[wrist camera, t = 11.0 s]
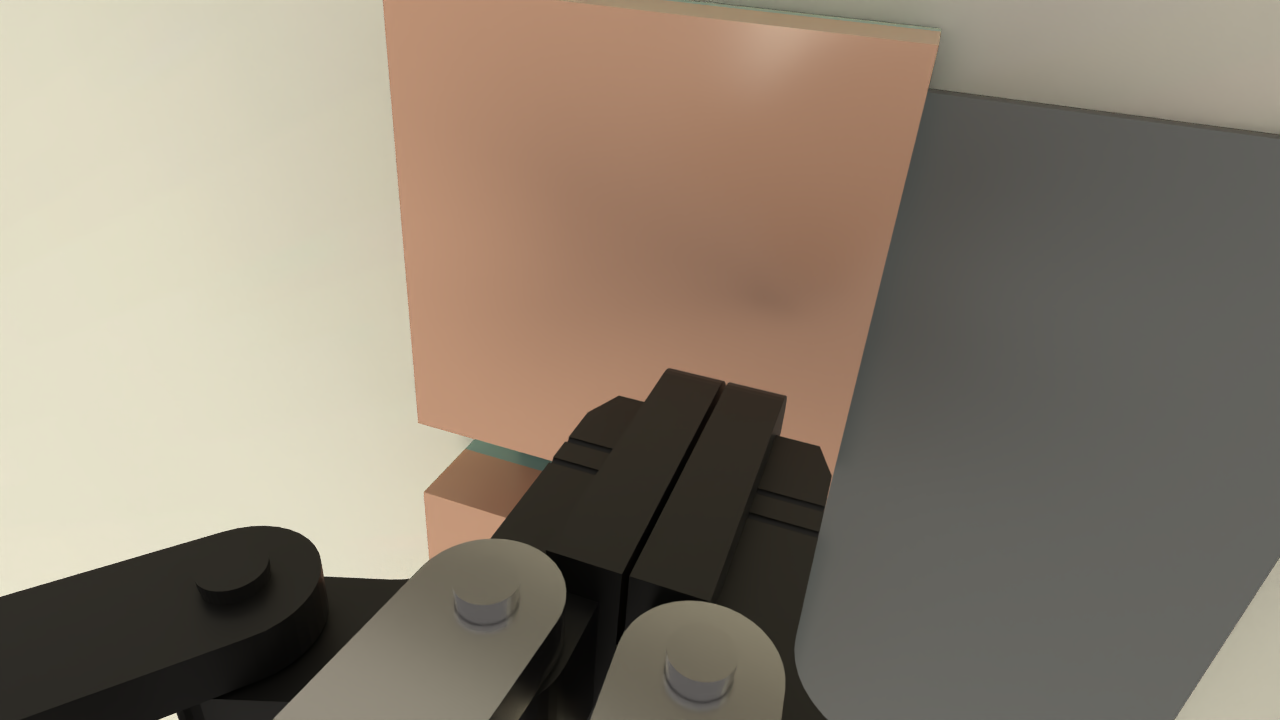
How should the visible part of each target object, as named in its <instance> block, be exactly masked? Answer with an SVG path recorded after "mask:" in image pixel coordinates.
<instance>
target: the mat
mask: <svg viewBox="0 0 1280 720" xmlns="http://www.w3.org/2000/svg"><path fill="white" fill-rule="evenodd" d="M1279 558H1280V135H1277V134H1269V133H1262V132H1254V131H1247V130H1239V129H1232V128H1224V127H1216V126H1209V125H1201V124H1194V123H1186V122H1178V121H1171V120H1163V119H1156V118H1148V117H1140V116H1133V115H1125V114H1118V113H1110V112H1102V111H1095V110H1087V109H1080V108H1072V107H1064V106H1057V105H1049V104H1042V103H1034V102H1026V101H1019V100H1011V99H1004V98H996V97H989V96H981V95H973V94H966V93H958V92H951V91H943V90H935V89H928V91H927V95H926V100H925V104H924V108H923V112H922V116H921V120H920V124H919V128H918V132H917V136H916V140H915V144H914V148H913V152H912V156H911V160H910V165H909V169H908V173H907V177H906V181H905V185H904V189H903V193H902V197H901V201H900V205H899V209H898V213H897V217H896V221H895V225H894V230H893V234H892V238H891V242H890V246H889V250H888V254H887V258H886V262H885V266H884V270H883V274H882V278H881V282H880V286H879V290H878V295H877V299H876V303H875V307H874V311H873V315H872V319H871V323H870V327H869V331H868V335H867V339H866V343H865V347H864V351H863V355H862V360H861V364H860V368H859V372H858V376H857V380H856V384H855V388H854V392H853V396H852V400H851V404H850V408H849V412H848V416H847V420H846V425H845V429H844V433H843V437H842V441H841V445H840V449H839V453H838V457H837V461H836V465H835V469H834V473H833V477H832V481H831V485H830V490H829V494H828V498H827V502H826V506H825V510H824V514H823V518H822V523H821V527H820V532H819V536H818V541H817V545H816V550H815V554H814V559H813V563H812V567H811V572H810V576H809V581H808V585H807V590H806V594H805V599H804V603H803V608H802V612H801V616H800V621H799V625H798V630H797V634H796V639H795V648H794V653H795V663H796V667H797V671H798V675H799V678H800V680H801V682H802V684H803V687H804V689H805V691H806V692H807V694H808V695H809V697H810V699H811V700H812V702H813V703H814V705H815V706H816V707H817V708H818V709H819V711H820V712H821V713H822V714H823V716H825V717H826V718H827V719H828V720H1175V718H1176V716H1177V715H1178V713H1179V712H1180V710H1181V709H1182V707H1183V706H1184V704H1185V703H1186V701H1187V700H1188V698H1189V696H1190V695H1191V693H1192V692H1193V690H1194V689H1195V687H1196V686H1197V684H1198V683H1199V681H1200V679H1201V678H1202V676H1203V675H1204V673H1205V672H1206V670H1207V669H1208V667H1209V666H1210V664H1211V662H1212V661H1213V659H1214V658H1215V656H1216V655H1217V653H1218V652H1219V650H1220V649H1221V647H1222V646H1223V644H1224V642H1225V641H1226V639H1227V638H1228V636H1229V635H1230V633H1231V632H1232V630H1233V629H1234V627H1235V625H1236V624H1237V622H1238V621H1239V619H1240V618H1241V616H1242V615H1243V613H1244V612H1245V610H1246V608H1247V607H1248V605H1249V604H1250V602H1251V601H1252V599H1253V598H1254V596H1255V595H1256V593H1257V592H1258V590H1259V588H1260V587H1261V585H1262V584H1263V582H1264V581H1265V579H1266V578H1267V576H1268V575H1269V573H1270V571H1271V570H1272V568H1273V567H1274V565H1275V564H1276V562H1277V561H1278V559H1279Z"/></svg>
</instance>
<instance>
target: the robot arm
mask: <svg viewBox="0 0 1280 720" xmlns="http://www.w3.org/2000/svg"><path fill="white" fill-rule="evenodd" d="M786 402H787V396H786V395H781V394H777V393H773V392H769V391H765V390H761V389H756V388H752V387H748V386H744V385H740V384H735V383H731V382H728V384H727V385H726V383H725V381H722V380H718V379H714V378H710V377H705V376H701V375H697V374H693V373H689V372H685V371H680V370H676V369H672V368H668V369H666V370H665V372H664V373H663V375H662V376H661V378H660V379H659V381H658V382H657V384H656V385H655V387H654V388H653V390H652V391H651V393H650V394H649V396H648V397H647V399H646V400H645V402H643V401H639V400H635V399H631V398H627V397H623V396H617V397H615V398H613V399H611V400H610V401H608V402H606V403H604V404H602V405H600V406H598V407H597V408H595V409H593V410H591V411H589V412H587V414H586V415H585V416H584V418H583V419H582V420H581V421H580V423H579V424H578V425H577V427H576V428H575V429H574V431H573V432H572V433H571V434H570V436H569V439H568V442H564V444H563V445H562V446H561V447H560V449H559V450H558V451H557V453H556V454H555V455H554V456H553V460H552V463H550V462H549V463H548V464H547V466H546V467H545V468H544V469H543V471H542V472H541V473H540V475H539V476H538V477H537V479H536V480H535V481H534V482H533V484H532V485H531V486H530V488H529V489H528V490H527V491H526V493H525V494H524V495H523V497H522V498H521V499H520V501H519V502H518V503H517V504H516V506H515V507H514V508H513V510H512V511H511V512H510V514H509V515H508V516H507V517H506V519H505V520H504V521H503V523H502V524H501V525H500V526H499V528H498V529H497V530H496V532H495V533H494V534H493V536H492V537H491V538H490V539H479V540H474V541H469V542H465V543H461V544H458V545H455V546H453V547H451V548H448V549H446V550H444V551H442V552H440V553H439V554H437V555H436V556H434V557H433V558H431V559H430V560H429V561H428V562H427V563H425V564H424V565H423V566H422V567H421V568H420V569H419V570H418V571H417V572H416V573H415V574H414V575H413V576H412V577H411V578H410V579H402V580H387V579H365V578H343V577H324V575H323V569H322V564H321V559H320V555H319V552H318V551H317V549H316V547H315V545H314V544H313V543H312V542H311V541H310V540H309V539H307V538H306V537H304V536H303V535H301V534H300V533H297V532H295V531H292V530H289V529H285V528H280V527H272V526H251V527H244V528H237V529H233V530H229V531H224V532H221V533H217V534H214V535H211V536H207V537H204V538H200V539H197V540H193V541H190V542H187V543H183V544H180V545H176V546H173V547H169V548H166V549H163V550H159V551H156V552H152V553H149V554H146V555H142V556H139V557H135V558H132V559H128V560H125V561H122V562H118V563H115V564H111V565H108V566H104V567H101V568H98V569H94V570H91V571H87V572H84V573H81V574H77V575H74V576H70V577H67V578H63V579H60V580H57V581H53V582H50V583H46V584H43V585H39V586H36V587H33V588H29V589H26V590H22V591H19V592H16V593H12V594H9V595H5V596H2V597H0V720H159V719H161V718H164V717H166V716H169V715H172V714H174V713H177V716H178V718H179V720H828V719H827V718H826V717H825V716H823V714H822V713H821V712H820V711H819V709H818V708H817V707H816V706H815V705H814V703H813V702H812V700H811V699H810V697H809V695H808V694H807V692H806V691H805V689H804V687H803V684H802V682H801V680H800V678H799V675H798V671H797V667H796V663H795V653H794V648H795V639H796V634H797V630H798V625H799V621H800V616H801V612H802V608H803V603H804V599H805V594H806V590H807V585H808V581H809V576H810V572H811V567H812V563H813V559H814V554H815V550H816V545H817V541H818V536H819V532H820V527H821V523H822V518H823V514H824V509H825V505H826V501H827V496H828V492H829V487H830V483H831V478H832V475H831V473H830V470H829V468H828V465H827V463H826V460H825V458H824V455H823V453H822V450H821V448H820V446H817V445H813V444H809V443H805V442H801V441H797V440H793V439H789V438H785V437H782V436H780V434H781V429H782V424H783V419H784V414H785V408H786Z"/></svg>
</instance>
